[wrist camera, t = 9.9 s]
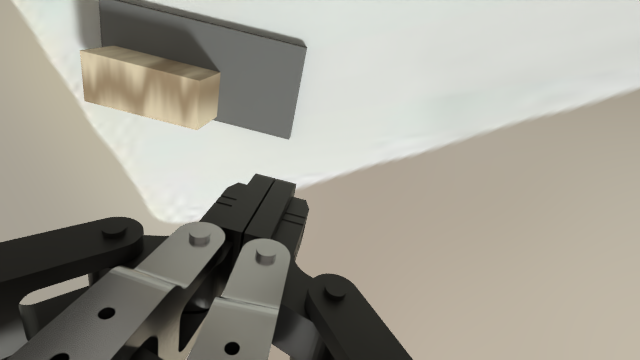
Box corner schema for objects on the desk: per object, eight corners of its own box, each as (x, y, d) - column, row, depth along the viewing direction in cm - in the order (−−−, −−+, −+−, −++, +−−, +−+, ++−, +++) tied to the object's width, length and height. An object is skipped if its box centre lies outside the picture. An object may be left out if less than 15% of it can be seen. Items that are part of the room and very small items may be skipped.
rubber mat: (104, -4, 37) (98, -4, 36) (306, 47, 36) (305, 48, 36) (109, 90, 42) (104, 91, 41) (290, 137, 41) (288, 139, 40)
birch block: (220, 72, 38) (114, 45, 38) (199, 80, 34) (79, 50, 34) (216, 116, 40) (116, 90, 41) (197, 130, 36) (84, 100, 36)
